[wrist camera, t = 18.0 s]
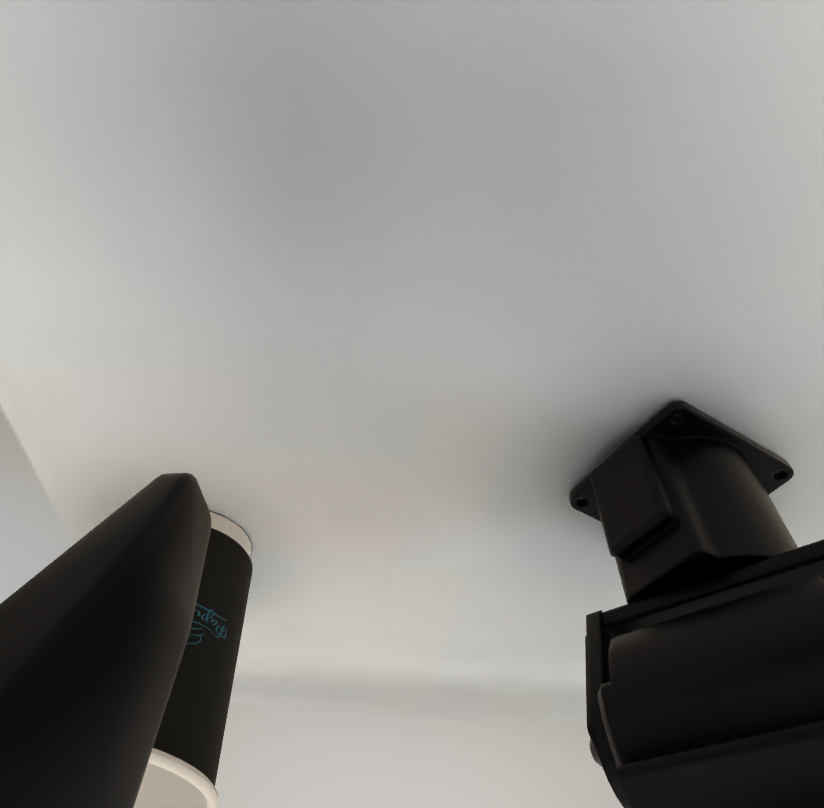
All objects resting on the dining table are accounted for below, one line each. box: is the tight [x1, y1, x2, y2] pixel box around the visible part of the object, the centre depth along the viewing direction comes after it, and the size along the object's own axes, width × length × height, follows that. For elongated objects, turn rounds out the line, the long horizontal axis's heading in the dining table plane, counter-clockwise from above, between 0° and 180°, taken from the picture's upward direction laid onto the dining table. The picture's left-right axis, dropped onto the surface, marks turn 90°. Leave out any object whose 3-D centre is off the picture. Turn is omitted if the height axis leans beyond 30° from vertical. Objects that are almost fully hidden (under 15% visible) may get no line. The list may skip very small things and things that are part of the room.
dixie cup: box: [134, 512, 252, 808], centre depth 25 cm, size 8×8×11 cm
